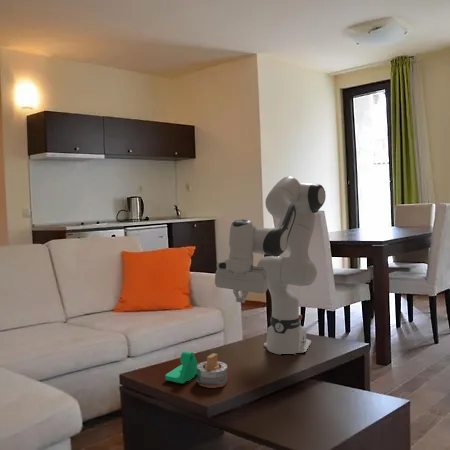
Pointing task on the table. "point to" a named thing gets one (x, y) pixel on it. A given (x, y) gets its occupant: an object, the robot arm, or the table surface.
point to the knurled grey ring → (211, 374)
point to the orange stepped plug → (212, 362)
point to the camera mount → (184, 369)
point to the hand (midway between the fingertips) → (240, 302)
